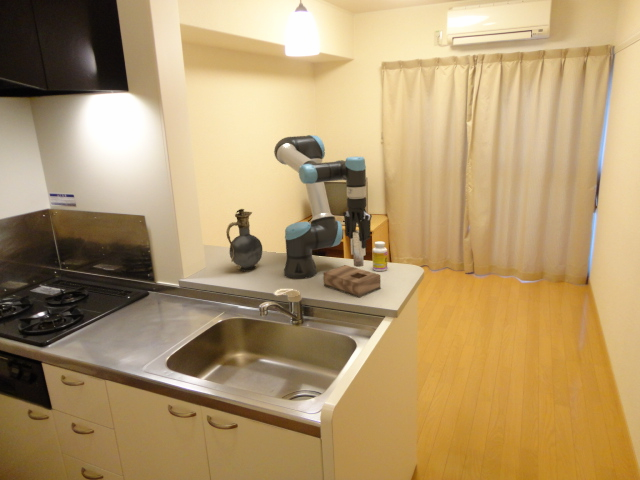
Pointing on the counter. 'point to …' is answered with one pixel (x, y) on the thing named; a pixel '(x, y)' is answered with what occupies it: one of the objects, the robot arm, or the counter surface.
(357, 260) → the pin
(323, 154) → the robot arm
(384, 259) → the supplement bottle
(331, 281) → the socket block
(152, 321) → the counter surface
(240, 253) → the pitcher
